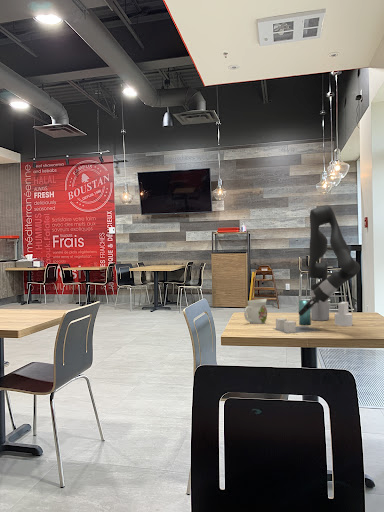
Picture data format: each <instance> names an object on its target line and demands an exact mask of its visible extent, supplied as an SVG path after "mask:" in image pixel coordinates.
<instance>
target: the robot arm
mask: <svg viewBox="0 0 384 512" xmlns="http://www.w3.org/2000/svg"><path fill="white" fill-rule="evenodd" d="M326 224H329V226H330V229H331V233H330V239H329V243H330V247H331V249H332V251H333V252H334V253H333V254H334V255H335V257H336V259H337V260H336V261H337V263H338V266H339V268H340V269H339V271H334V272H332V273H331V274H330V275H329V276H328V271H329V268H328V264H327V262H318V261H319V260H320V259H321V258H322V257H324V255H325V254H326V252H327V250H328V238H327V237H326V235H325V234H324V233H323V232H322V231H321V230H320V227H321V226H323V225H326ZM309 227H310V239H309V260H308V266H307V267H308V268H307V275H308V278H310V279H321V280H320V281H319V282H317V283H313V284H311V285H310V299H308V300H309V301H308V302H307V303H306V305H305V306H304V307H303V309H302V310H301V311H300V312H299V311H298V315H299V314H300V315H301V316H302V315H303V314H304V313H305V312H306V311H308V310H309V309H310V308H311V321H323V322H324V321H328V320H330V303H329V301H328V300H329V299H330V298H331V297H332V296H333V295H334V294H335V293H336V292H337V291H338V289H339V288H340V287H341V286H343V284H345V283H346V282H348V281H349V280H351V279H352V278H354V277H355V276H357V274H359V272H360V270H361V266H360V263H359V262H358V261H356V260H354V259H353V257H352V255H351V249H350V247H349V246H348V244H347V242H346V240H345V239H344V237H343V234H342V232H341V229H340V225H339V223H338V221H337V217H336V215H335V213H334V210H333V208H332V207H331V206H330V205H328V204H327V205H321V206H318V207H314V208H313V209H311V210H310V212H309ZM306 306H309V308H307V307H306Z"/></svg>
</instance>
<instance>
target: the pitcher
mask: <svg viewBox="0 0 384 512" xmlns="http://www.w3.org/2000/svg"><path fill="white" fill-rule="evenodd" d="M267 300H268V299H267V298H261V299H252V300H251V299H250V300H247V306H246V307H245V309H244V311H243V312H244V313H243V314H244V319H245V320H246V322H249V324H251V325H252V324H254V325H259V324H265V323H266V321H267V318H268V309H267V308H268V307H267V306H266V305H267Z"/></svg>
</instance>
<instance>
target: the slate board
mask: <svg viewBox="0 0 384 512" xmlns="http://www.w3.org/2000/svg"><path fill="white" fill-rule="evenodd" d="M272 329H273V330H274V331H278V332H280V333H284V334H288V335H289V334H290V333H287V332H284V330H278V329H276V327H275V328H274V327H273V328H272ZM309 332H311V333H312V332H321V330H320V329H317V328H314V327H310V326H304V325H299V326H296V332H294V333H293V334H298V333H309Z"/></svg>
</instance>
